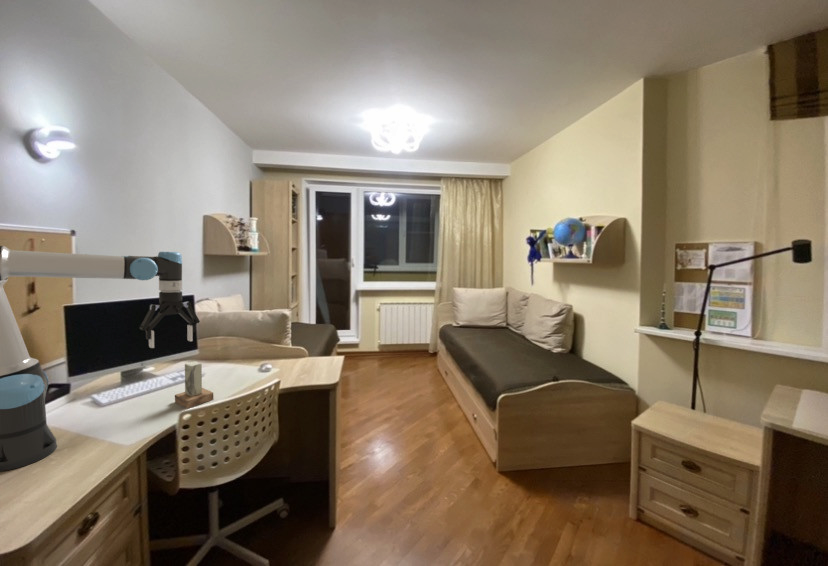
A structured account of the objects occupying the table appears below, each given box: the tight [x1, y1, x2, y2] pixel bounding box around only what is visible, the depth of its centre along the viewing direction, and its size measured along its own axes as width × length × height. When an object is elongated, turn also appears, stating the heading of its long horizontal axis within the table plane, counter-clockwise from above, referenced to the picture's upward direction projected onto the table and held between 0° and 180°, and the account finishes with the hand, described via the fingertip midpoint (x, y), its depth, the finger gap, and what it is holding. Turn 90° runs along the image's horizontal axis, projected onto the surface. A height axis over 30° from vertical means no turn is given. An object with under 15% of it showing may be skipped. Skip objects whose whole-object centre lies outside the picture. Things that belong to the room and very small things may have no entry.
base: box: [174, 387, 214, 409], centre depth 144 cm, size 10×10×3 cm
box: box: [184, 360, 203, 396], centre depth 143 cm, size 5×4×13 cm
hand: (171, 344), depth 139 cm, fingers open, 13 cm apart
